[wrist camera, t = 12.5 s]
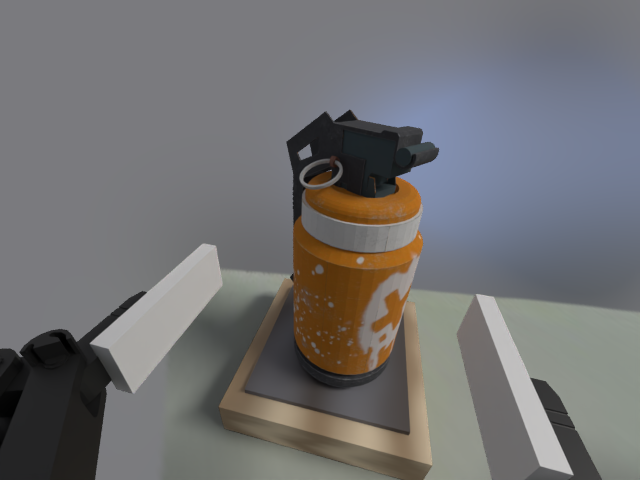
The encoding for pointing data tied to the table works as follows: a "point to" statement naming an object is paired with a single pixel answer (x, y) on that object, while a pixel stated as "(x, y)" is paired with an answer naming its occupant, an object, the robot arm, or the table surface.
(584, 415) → the table surface
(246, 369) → the plinth
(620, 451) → the table surface
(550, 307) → the table surface
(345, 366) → the canister
